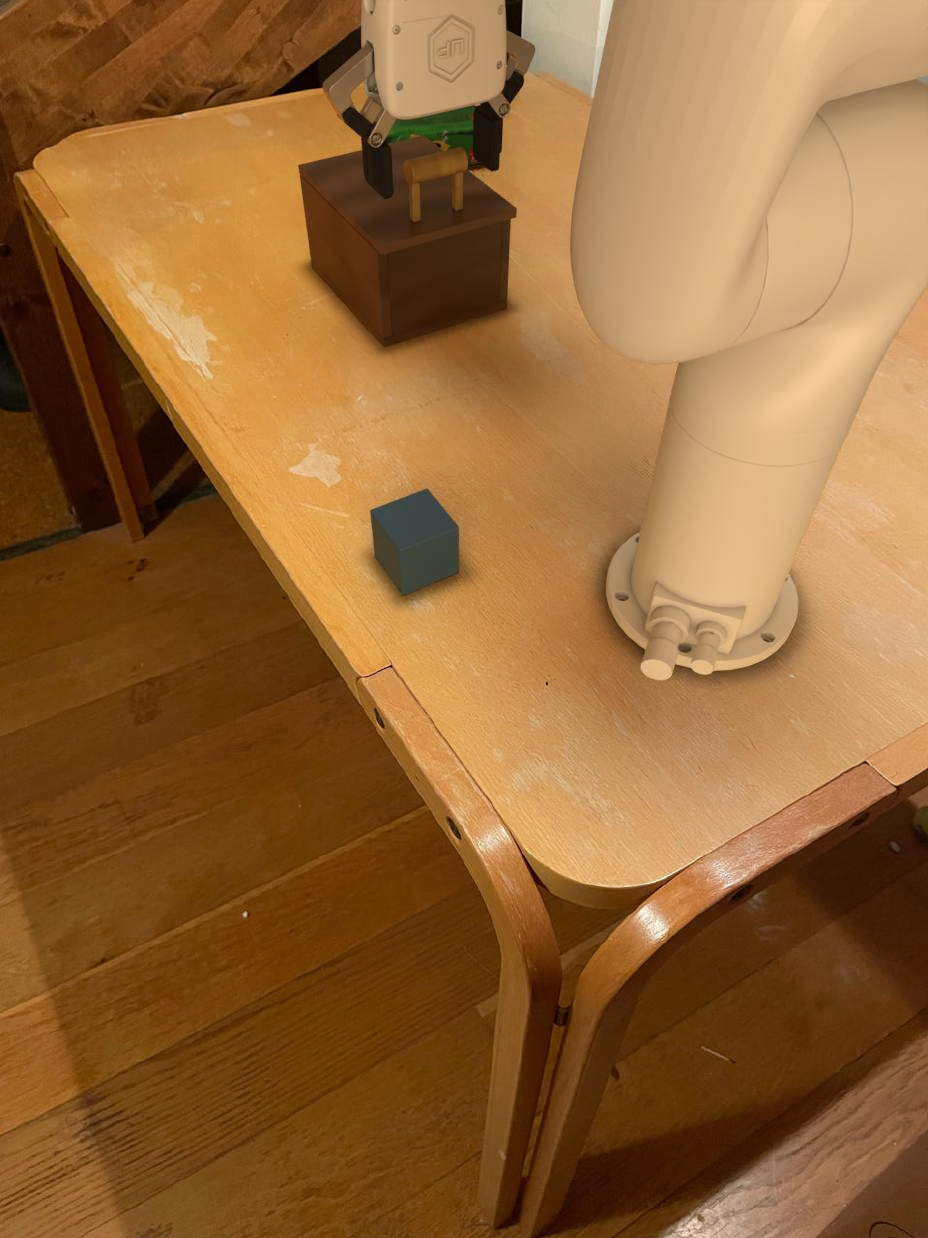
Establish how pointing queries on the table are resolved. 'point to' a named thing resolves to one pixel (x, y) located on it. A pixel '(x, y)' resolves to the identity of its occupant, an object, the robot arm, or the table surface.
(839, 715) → the table surface
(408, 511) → the block
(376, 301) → the chest
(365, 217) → the lid
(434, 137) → the snack package
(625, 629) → the robot arm
